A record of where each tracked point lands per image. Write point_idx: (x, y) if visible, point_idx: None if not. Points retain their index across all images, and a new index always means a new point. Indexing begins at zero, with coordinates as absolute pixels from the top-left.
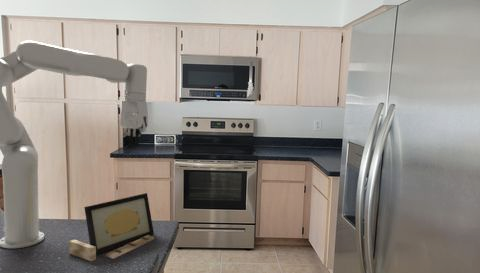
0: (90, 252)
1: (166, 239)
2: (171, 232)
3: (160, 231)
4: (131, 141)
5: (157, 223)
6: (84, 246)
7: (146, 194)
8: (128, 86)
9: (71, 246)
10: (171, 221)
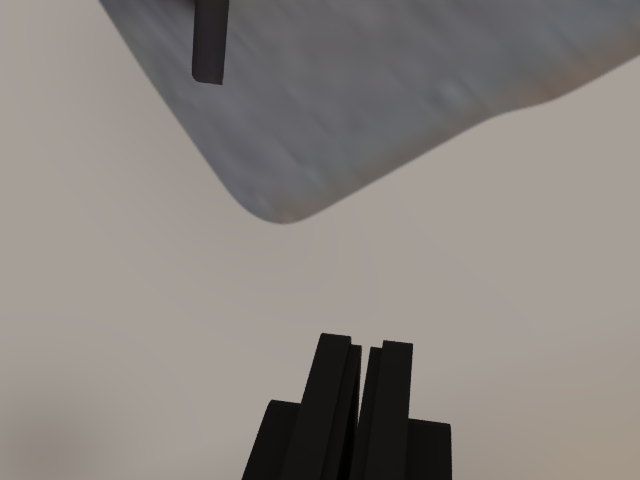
0: None
1: (116, 4)
2: (166, 97)
3: None
4: (322, 411)
5: (316, 163)
6: None
7: (192, 66)
8: None
9: None
10: (275, 222)
